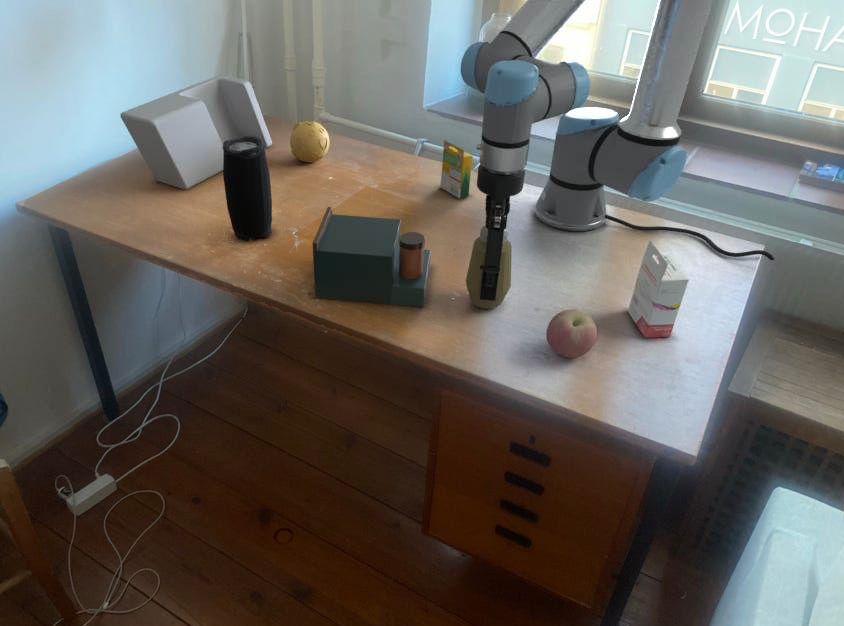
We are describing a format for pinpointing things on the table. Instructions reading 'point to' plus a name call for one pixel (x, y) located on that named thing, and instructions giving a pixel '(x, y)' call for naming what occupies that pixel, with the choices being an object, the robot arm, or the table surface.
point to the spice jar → (411, 255)
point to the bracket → (195, 128)
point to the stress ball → (309, 141)
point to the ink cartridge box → (657, 294)
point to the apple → (571, 333)
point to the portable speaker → (247, 187)
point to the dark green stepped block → (364, 262)
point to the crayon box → (456, 170)
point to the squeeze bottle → (476, 273)
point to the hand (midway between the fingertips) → (487, 285)
